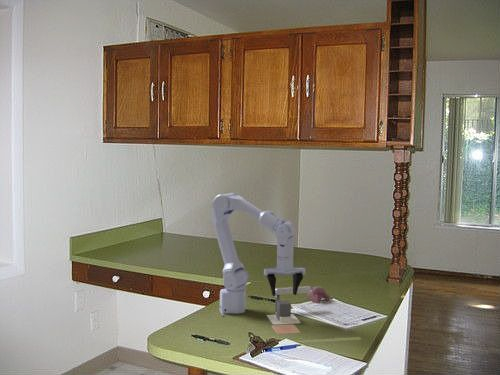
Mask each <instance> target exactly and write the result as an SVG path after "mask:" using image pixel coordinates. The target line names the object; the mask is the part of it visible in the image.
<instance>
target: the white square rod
mask: <svg viewBox="0 0 500 375" xmlns="http://www.w3.org/2000/svg"><path fill="white" fill-rule="evenodd" d="M311 288H312V286H310V285H306V286H305V285H304V286H299V287H298V290H297V294H305V293H306V294H307V293H309V292H311ZM290 294H291V295H292V294H293V286H290V287H288V286H287V287H275V296H276V295H280V296H281V295H290ZM293 295H294V294H293Z"/></svg>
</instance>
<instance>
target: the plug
mask: <svg viewBox="0 0 500 375" xmlns="http://www.w3.org/2000/svg"><path fill="white" fill-rule="evenodd" d="M291 311H292V304H291V302H290V301H289V300H285V299H284V300H280V301H277V319H278V320H279V321H280V317H287V316H291V314H292V312H291Z"/></svg>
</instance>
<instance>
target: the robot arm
mask: <svg viewBox="0 0 500 375" xmlns="http://www.w3.org/2000/svg"><path fill="white" fill-rule="evenodd" d="M210 204H211V207H212V209H211V210H212V211H211V222H212V226H213V229H214V232H215V237H216V239H217V243H218V247H219V250H220V254H221V257H222V261H223V263H224V266H223V269H222V283H223V284H222V285H223V286H224V288H222V289H220V291H219V312H220V314H221V316H223V317H225V314H242V313H243V314H244V313H245V312H246V299H247V298H246V297H247V296H246V295H247V292H246V291H247V289H246V288H247V286H246V285H247V283H249V279H250V275H249V272H248V271H247V270H246V269H245V266H244V265H245V264H243V263H242V262H241V261H240V260H239V256H238V253H237V249H236V246H235V242H234V239H233V236H232V233H231V229H230V226H229V222H228V219H229V218H230V216H231V214H232V213H233V212H234V211H241V212H243V213H245V214H246V215H249V216H250V217H253V218H254V219H256V220H257V221H258V224H259V225H260V226H262V227H263V228H265V230H268V231H270V232H272V233H273V234H274V235H275V237H276V242H277V243H276V246H277V247H276V267H272V268H270V267H269V268H264V269H263V276H265V277H266V278H267V281H268V283H269V287H270V291H271V295H272V297H276V295H275V288H276V284H277V277H276V276H278V275H279V276H280V275H282V276H283V275H292V287H293V295H294V296H297V294H298V293H297V290H298V287H300V285H301V283H302V282H303V279H304V275H306V268H305V267H294V243H295V242H294V238H295V237H294V236H295V235H296V233H297V226H296V225H295V223H293V221H291V220H287V221H286V219H285V218H283V217H282V218H281V217H279V216H278V215H276V214H275V212H274V211H272V210H265V211H263V210H261V209H260V208H258V207H256V205H254V204H253V203H251V202H249V201H248V200H246V199H245V198H244V197H242V196H241V195H238V194H237V193H235V192H229V193H223V194H218V195H216V196H214V198H213V200H212V201H211V203H210Z"/></svg>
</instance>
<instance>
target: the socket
mask: <svg viewBox="0 0 500 375" xmlns="http://www.w3.org/2000/svg"><path fill="white" fill-rule="evenodd" d="M274 298H275V300H274V301H275V302H274V303H275V306H274V307H275V308H274V312H275V314H266V316H267V318H268V320H269V321H270V323H272V324H271V325H272V326H273V325H292V324H294V325H295V324H301V323H302V322H301V321H300V320H299V319H298V318H297V317H296V315H295V314H294V313H291V316H287V317H280V321H279V320H278V319H277V301H281V295H275V296H274Z"/></svg>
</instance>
